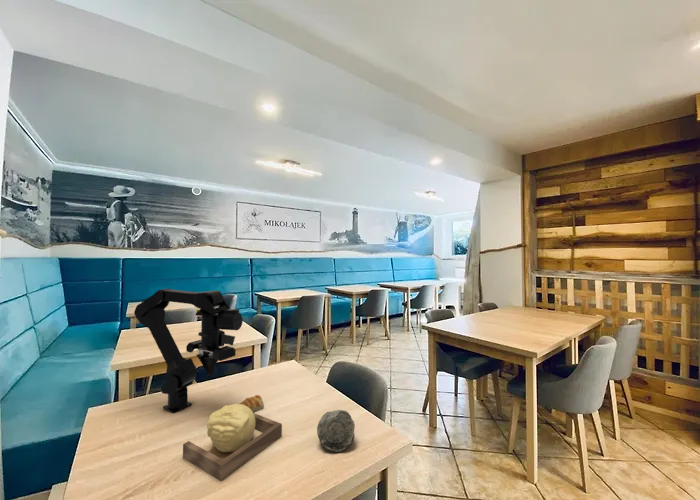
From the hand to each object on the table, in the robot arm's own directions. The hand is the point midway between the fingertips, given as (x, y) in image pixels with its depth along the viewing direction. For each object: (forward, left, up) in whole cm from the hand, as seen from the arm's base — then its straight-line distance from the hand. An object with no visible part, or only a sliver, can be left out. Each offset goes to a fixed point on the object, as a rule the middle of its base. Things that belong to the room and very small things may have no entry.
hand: (210, 375), depth 100 cm
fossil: (+46, +7, -12) cm, 48 cm away
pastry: (+11, +8, -12) cm, 18 cm away
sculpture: (+22, -8, -12) cm, 26 cm away
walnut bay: (+22, -8, -12) cm, 26 cm away
